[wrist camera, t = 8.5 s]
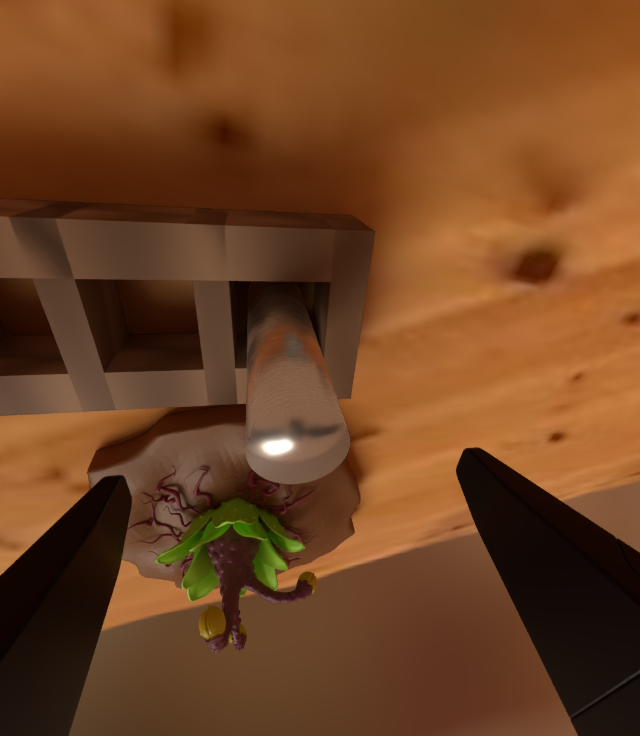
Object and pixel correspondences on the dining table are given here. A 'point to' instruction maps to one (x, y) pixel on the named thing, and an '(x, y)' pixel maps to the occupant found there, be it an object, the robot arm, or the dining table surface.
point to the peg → (289, 391)
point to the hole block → (166, 262)
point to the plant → (222, 515)
